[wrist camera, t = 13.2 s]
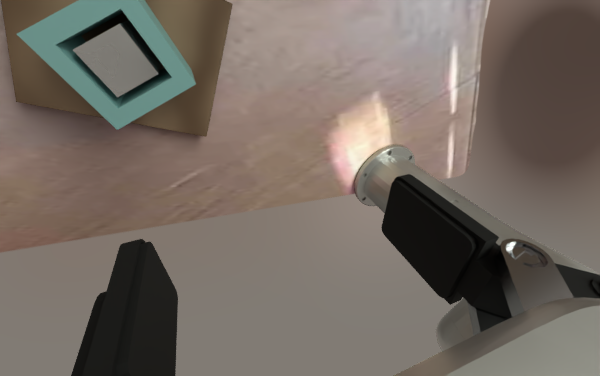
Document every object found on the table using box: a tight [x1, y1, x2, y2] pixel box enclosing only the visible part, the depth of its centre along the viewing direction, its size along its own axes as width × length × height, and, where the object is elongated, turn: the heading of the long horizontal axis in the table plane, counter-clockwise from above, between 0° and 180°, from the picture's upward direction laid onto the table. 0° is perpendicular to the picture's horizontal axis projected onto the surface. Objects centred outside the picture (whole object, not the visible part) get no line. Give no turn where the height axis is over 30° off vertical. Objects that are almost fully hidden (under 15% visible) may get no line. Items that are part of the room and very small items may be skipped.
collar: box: [17, 0, 196, 130], centre depth 20 cm, size 7×7×6 cm
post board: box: [1, 0, 232, 137], centre depth 20 cm, size 15×13×8 cm
